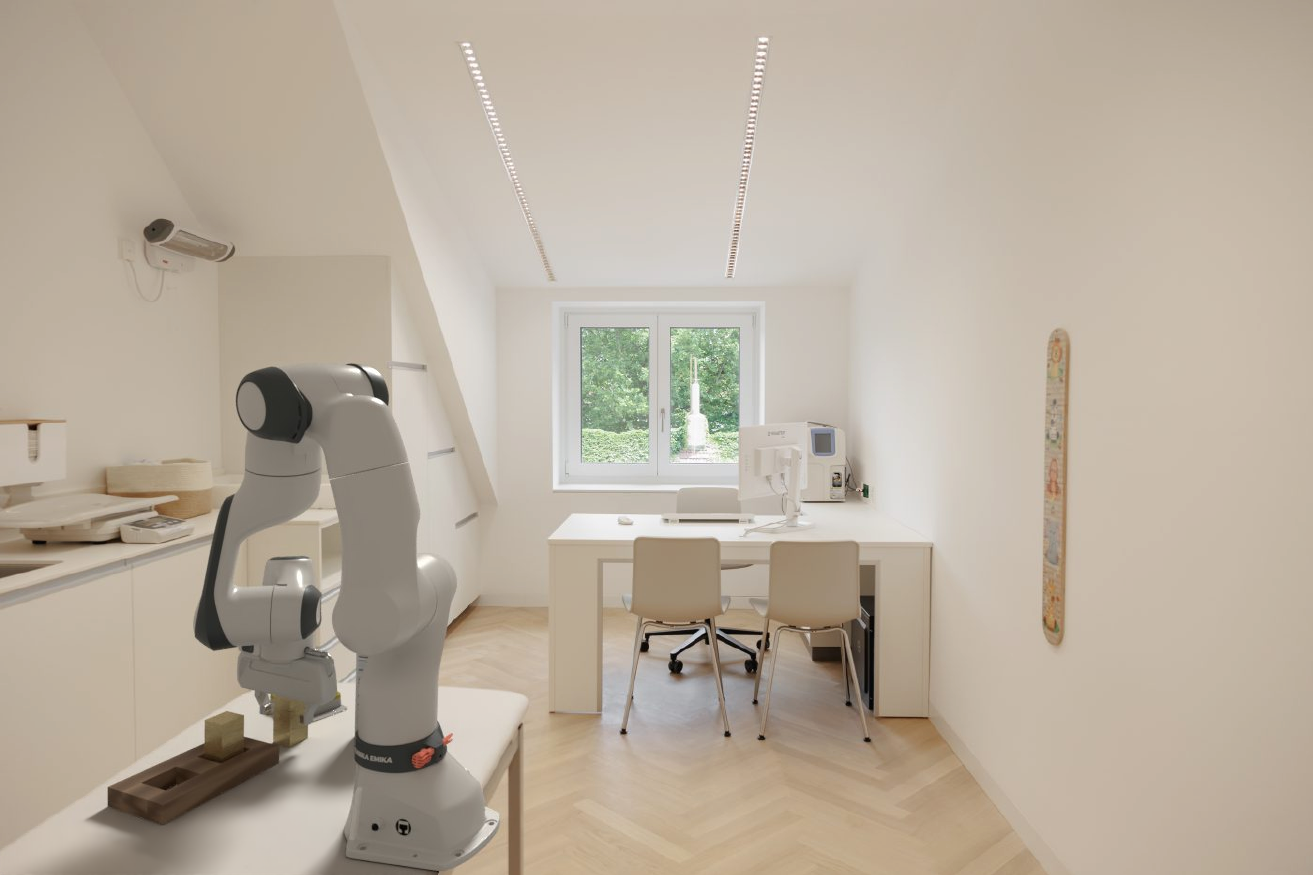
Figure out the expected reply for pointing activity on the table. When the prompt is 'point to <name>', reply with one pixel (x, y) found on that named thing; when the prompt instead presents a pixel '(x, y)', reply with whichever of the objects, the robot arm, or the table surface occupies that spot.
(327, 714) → the emergency button
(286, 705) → the block
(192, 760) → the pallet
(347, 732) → the table surface
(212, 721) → the seated billet
